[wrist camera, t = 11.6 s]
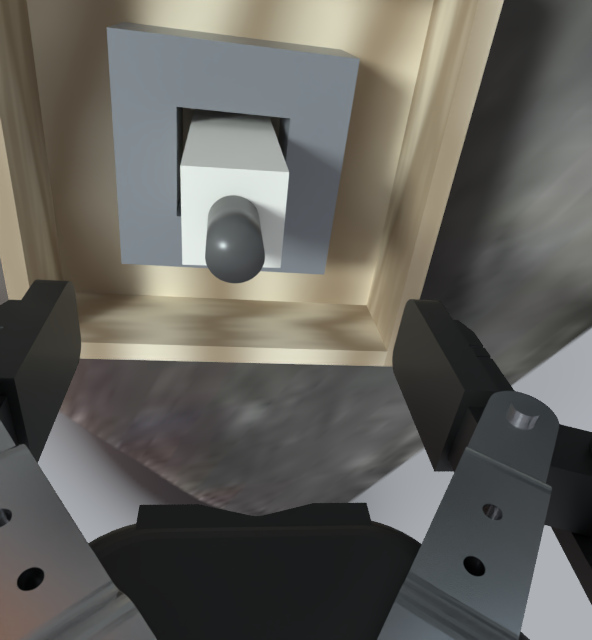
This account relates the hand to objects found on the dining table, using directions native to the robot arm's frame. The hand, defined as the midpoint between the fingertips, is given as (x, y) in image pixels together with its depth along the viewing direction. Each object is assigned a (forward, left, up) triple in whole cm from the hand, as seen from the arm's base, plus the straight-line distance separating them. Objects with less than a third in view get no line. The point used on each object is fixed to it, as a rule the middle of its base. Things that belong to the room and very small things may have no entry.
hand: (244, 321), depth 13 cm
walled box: (0, 0, -18) cm, 18 cm away
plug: (0, 0, -17) cm, 17 cm away
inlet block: (0, 0, -16) cm, 16 cm away
